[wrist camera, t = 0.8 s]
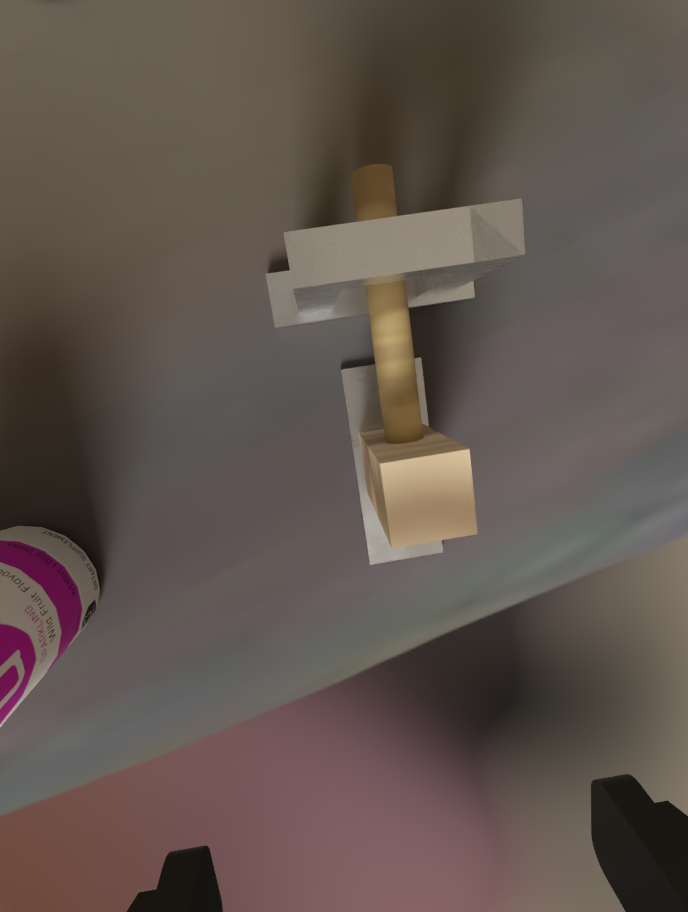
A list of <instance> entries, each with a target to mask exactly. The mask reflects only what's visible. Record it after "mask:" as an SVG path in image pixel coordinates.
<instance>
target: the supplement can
mask: <svg viewBox="0 0 688 912" xmlns="http://www.w3.org/2000/svg"><path fill="white" fill-rule="evenodd" d="M99 593H100V587H99V583H98V578H97V573H96V569H95V568H94V566H93V564H92V563H91V561H90V560H89V558H88V557H87V555H86V553H85V552H84V550H82V549H81V548H80V547H79V546H77V545H76V544H75V543H74V542H72V541H71V540H70V539H69V538H67V537H66V536H64V535H62V534H59V533H56V532H54V531H51V530H49V529H46V528H43V527H32V526H15V527H11V528H8V529H4V530H1V531H0V727H1V726H2V724H3V723H4V722H5V721H6V720H7V718H8V717H9V716H10V715H11V714H12V713H13V711H14V710H15V709H16V708H17V707H18V705H19V704H20V703H21V702H22V701H23V700H24V698H25V697H26V696H27V695H28V694H29V692H30V691H31V690H32V689H33V688H34V687H35V685H36V684H37V683H38V682H39V681H40V680H41V678H42V677H43V676H44V675H45V674H46V672H47V671H48V670H49V669H50V668H51V667H52V665H53V664H54V663H55V662H56V661H57V659H58V658H59V657H60V656H61V655H62V654H63V652H64V651H65V650H66V649H67V648H68V646H69V645H70V644H71V643H72V642H73V641H74V639H75V638H76V637H77V636H78V635H79V634H80V632H81V631H82V630H83V629H84V628H85V626H86V625H87V623H88V622H89V620H90V619H91V617H92V616H93V614H94V613H95V611H96V609H97V604H98V598H99Z"/></svg>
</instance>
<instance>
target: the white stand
mask: <svg viewBox="0 0 688 912" xmlns="http://www.w3.org/2000/svg"><path fill="white" fill-rule="evenodd" d="M284 238H285V244H286V250H287V256H288V262H289V268H290V270H289V271H282V272H275V273H268V274H266V278H267V284H268V289H269V295H270V301H271V307H272V312H273V318H274V324H275V328H276V329H277V328H284V327H290V326H297V325H304V324H310V323H317V322H324V321H330V320H337V319H344V318H350V317H357V316H364V315H369V312H368V304H367V297H366V289H365V286H367V285H374V284H381V283H388V282H394V281H401V280H405V282H406V291H407V299H408V308H409V309H410V308H417V307H424V306H430V305H437V304H444V303H451V302H457V301H464V300H470V299H472V298H475V294H474V283H473V281H474V280H476V279H478V278H480V277H482V276H484V275H486V274H488V273H490V272H492V271H494V270H496V269H498V268H500V267H502V266H504V265H506V264H508V263H510V262H512V261H514V260H516V259H518V258H520V257H522V256H524V255H525V243H524V227H523V212H522V198H521V199H514V200H507V201H500V202H493V203H486V204H479V205H472V206H465V207H458V208H451V209H444V210H437V211H430V212H423V213H416V214H409V215H402V216H395V217H388V218H380V219H373V220H366V221H359V222H352V223H345V224H338V225H331V226H324V227H317V228H310V229H303V230H296V231H289V232H284ZM414 360H415V369H416V377H417V386H418V394H419V403H420V412H421V420H422V423H423V424H425V425H426V426H428V427H429V423H428V414H427V405H426V396H425V388H424V379H423V370H422V361H421V357H419V358H414ZM341 376H342V382H343V389H344V396H345V402H346V409H347V416H348V423H349V429H350V436H351V443H352V449H353V456H354V463H355V470H356V476H357V483H358V490H359V496H360V503H361V510H362V517H363V523H364V530H365V537H366V544H367V550H368V557H369V563H370V565H371V564H377V563H383V562H389V561H394V560H400V559H406V558H412V557H418V556H424V555H429V554H435V553H441V552H443V547H442V540H439V541H433V542H428V543H422V544H416V545H410V546H404V547H398V548H391V546H390V544H389V541H388V539H387V537H386V535H385V532H384V530H383V528H382V525H381V523H380V521H379V519H378V516H377V514H376V512H375V509H374V507H373V505H372V502H371V500H370V498H369V496H368V492H367V485H366V478H365V472H364V465H363V458H362V451H361V444H360V437H359V433H361V432H368V431H374V430H380V429H384V424H383V417H382V409H381V402H380V394H379V387H378V379H377V372H376V364H373V365H367V366H360V367H354V368H347V369H341Z"/></svg>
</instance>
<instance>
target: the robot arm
mask: <svg viewBox="0 0 688 912" xmlns="http://www.w3.org/2000/svg"><path fill="white" fill-rule="evenodd" d="M591 831H592V832H591V834H592V842H593V846H594V850H595V853H596V856H597V859H598V862H599V864H600V866H601V868H602V870H603V873H604V874H605V876H606V878H607V880H608V882H609V883H610V885H611V887H612V888H613V890H614V892H615V894H616V896H617V897H618V899H619V901H620V903H621V904H622V906H623V908H624V910H625V911H626V912H688V816H687V815H685V814H684V813H683V812H682V811H680V810H679V809H678V808H676V807H675V806H674V805H672V804H671V803H670V802H668V801H664V802H658V803H654V802H653V800H652V799H651V798H650V796H649V795H648V794H647V793H646V791H645V790H644V789H643V788H642V786H641V785H640V784H639V783H638V781H637V780H636V779H635V778H634V777H633V776H631V775H629V774H625V775H619V776H613V777H608V778H601V779H596V780H593V781H592V783H591ZM127 912H223V908H222V900H221V895H220V891H219V887H218V883H217V878H216V874H215V870H214V866H213V862H212V857H211V853H210V849H209V847H208V846H200V847H195V848H189V849H184V850H177V851H172V852H169V854H168V855H167V857H166V859H165V862H164V865H163V868H162V872H161V875H160V879H159V883H158V886H157V889H156V890H151V891H145V892H140V893H138V895H137V896H136V898H135V900H134V901H133V903H132V904H131V906H130V908H129V909H128V911H127Z"/></svg>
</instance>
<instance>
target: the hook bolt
mask: <svg viewBox="0 0 688 912" xmlns="http://www.w3.org/2000/svg"><path fill="white" fill-rule="evenodd" d="M351 184H352V192H353V199H354V207H355V214H356V222H359V221H366V220H373V219H380V218H388V217H395V216H398V213H397V205H396V196H395V187H394V179H393V170H392V167H391V166H390V165H388V164H372V165H367V166H364V167H361V168H359V169H357V170H355V171H354V172H353V173H352V174H351ZM365 289H366V297H367V304H368V312H369V319H370V327H371V334H372V342H373V349H374V357H375V364H376V372H377V379H378V387H379V394H380V402H381V409H382V417H383V424H384V429H380V430H374V431H368V432H361V433H359V437H360V444H361V451H362V458H363V465H364V472H365V478H366V485H367V492H368V496H369V498H370V500H371V502H372V505H373V507H374V509H375V512H376V514H377V516H378V519H379V521H380V523H381V525H382V528H383V530H384V532H385V535H386V537H387V539H388V541H389V544H390V546H391V548H398V547H404V546H410V545H416V544H422V543H428V542H433V541H439V540H445V539H451V538H457V537H463V536H469V535H475V534H477V523H476V513H475V502H474V492H473V481H472V471H471V460H470V450H469V449H468V448H466V447H465V446H463V445H461V444H459V443H457V442H456V441H454V440H452V439H450V438H448V437H446V436H445V435H443V434H441V433H439V432H437V431H436V430H434V429H432V428H430V427H428V426H426V425H425V424H423V423H422V420H421V412H420V403H419V394H418V386H417V377H416V369H415V360H414V351H413V343H412V334H411V325H410V317H409V308H408V299H407V291H406V282H405V280H401V281H394V282H388V283H381V284H374V285H367V286H365Z"/></svg>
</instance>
